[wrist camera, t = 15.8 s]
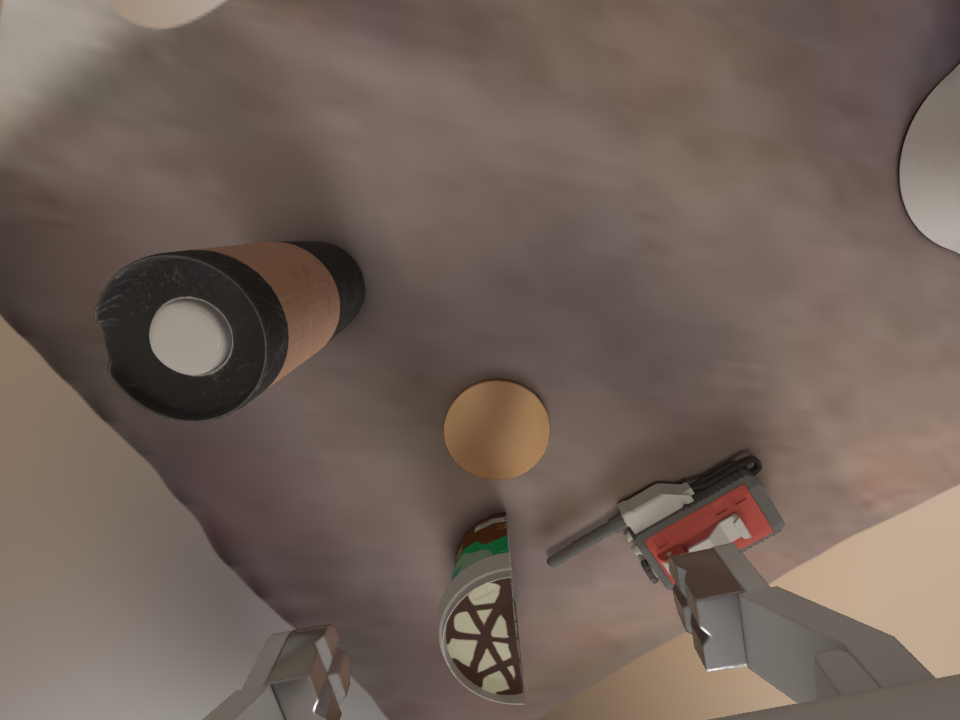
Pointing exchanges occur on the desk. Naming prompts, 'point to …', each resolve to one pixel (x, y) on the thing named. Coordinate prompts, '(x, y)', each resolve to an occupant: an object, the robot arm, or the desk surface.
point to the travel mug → (222, 322)
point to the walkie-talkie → (689, 519)
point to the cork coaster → (497, 429)
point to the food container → (483, 615)
